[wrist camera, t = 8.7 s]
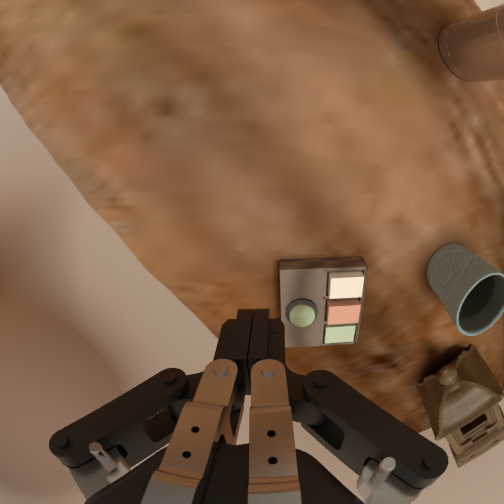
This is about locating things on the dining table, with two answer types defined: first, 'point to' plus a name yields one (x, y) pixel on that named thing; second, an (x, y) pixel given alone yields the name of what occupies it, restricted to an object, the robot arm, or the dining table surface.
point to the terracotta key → (342, 311)
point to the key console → (311, 298)
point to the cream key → (345, 284)
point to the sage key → (339, 333)
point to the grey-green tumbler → (467, 288)
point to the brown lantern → (464, 406)
